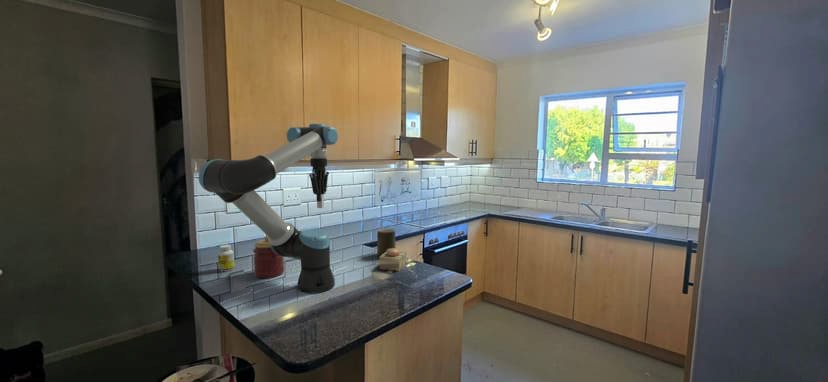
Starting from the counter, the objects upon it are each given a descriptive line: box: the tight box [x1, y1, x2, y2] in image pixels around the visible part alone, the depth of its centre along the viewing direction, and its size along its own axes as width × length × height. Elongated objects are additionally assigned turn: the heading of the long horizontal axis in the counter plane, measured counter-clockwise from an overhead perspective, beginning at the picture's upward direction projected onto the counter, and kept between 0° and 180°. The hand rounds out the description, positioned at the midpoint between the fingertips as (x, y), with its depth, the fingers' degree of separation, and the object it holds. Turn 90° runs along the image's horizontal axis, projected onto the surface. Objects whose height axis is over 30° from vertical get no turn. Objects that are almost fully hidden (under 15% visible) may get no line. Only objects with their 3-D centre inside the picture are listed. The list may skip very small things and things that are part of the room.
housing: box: [378, 251, 407, 272], centre depth 169 cm, size 10×10×6 cm
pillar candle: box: [376, 228, 396, 258], centre depth 187 cm, size 10×10×15 cm
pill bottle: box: [217, 244, 235, 272], centre depth 165 cm, size 6×6×12 cm
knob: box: [386, 247, 401, 257], centre depth 169 cm, size 6×6×8 cm
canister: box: [252, 235, 285, 279], centre depth 160 cm, size 13×13×18 cm
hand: (320, 207), depth 164 cm, fingers closed
